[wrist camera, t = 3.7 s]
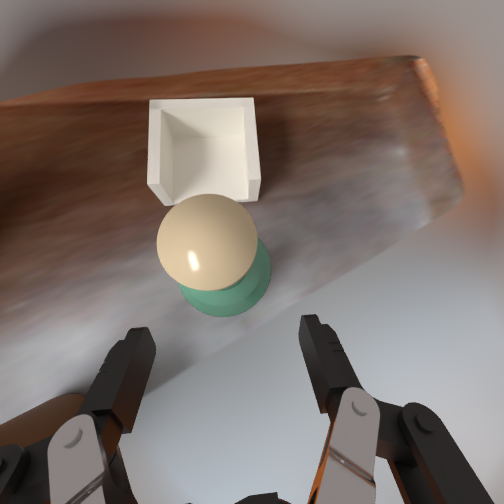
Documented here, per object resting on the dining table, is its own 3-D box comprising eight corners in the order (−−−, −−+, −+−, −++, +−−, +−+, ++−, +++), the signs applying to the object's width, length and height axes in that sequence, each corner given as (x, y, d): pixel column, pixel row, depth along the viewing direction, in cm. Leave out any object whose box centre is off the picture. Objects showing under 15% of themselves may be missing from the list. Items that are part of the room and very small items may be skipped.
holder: (257, 201, 27) (260, 179, 22) (164, 205, 26) (147, 184, 21) (251, 131, 29) (253, 97, 24) (165, 134, 28) (149, 99, 24)
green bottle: (204, 300, 24) (83, 303, 6) (218, 256, 25) (155, 141, 7) (249, 313, 24) (271, 358, 6) (261, 268, 25) (313, 185, 7)
